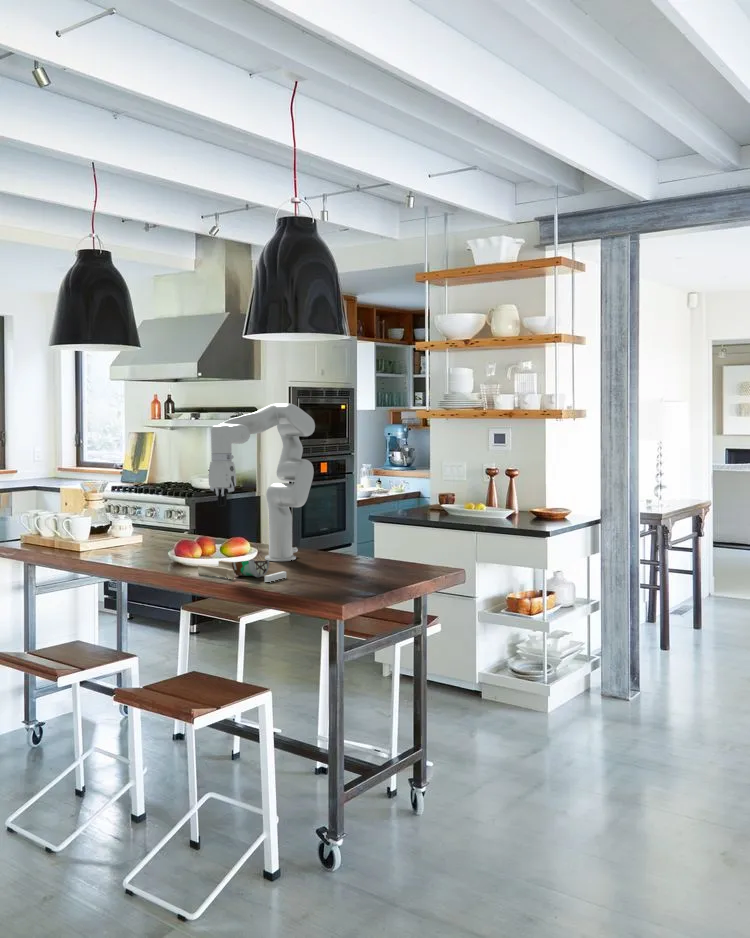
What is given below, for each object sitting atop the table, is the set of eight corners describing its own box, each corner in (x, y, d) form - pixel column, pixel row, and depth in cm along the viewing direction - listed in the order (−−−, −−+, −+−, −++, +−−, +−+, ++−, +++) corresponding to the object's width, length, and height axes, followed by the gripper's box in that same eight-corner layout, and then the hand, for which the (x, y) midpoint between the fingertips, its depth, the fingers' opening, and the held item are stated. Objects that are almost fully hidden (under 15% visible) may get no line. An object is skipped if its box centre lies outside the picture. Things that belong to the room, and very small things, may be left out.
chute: (224, 568, 352) (224, 559, 351) (260, 573, 343) (260, 564, 343) (194, 575, 337) (194, 566, 337) (231, 580, 328) (231, 570, 328)
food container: (230, 579, 331) (254, 577, 327) (229, 562, 332) (253, 560, 328) (247, 578, 342) (270, 577, 339) (246, 562, 343) (269, 560, 340)
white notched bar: (282, 577, 334) (282, 571, 334) (286, 578, 333) (286, 571, 333) (264, 582, 324) (264, 575, 324) (268, 583, 324) (268, 576, 324)
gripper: (243, 458, 342) (244, 506, 343) (212, 456, 349) (213, 504, 350) (231, 459, 335) (231, 508, 336) (199, 457, 342) (200, 506, 344)
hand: (222, 506), depth 343 cm, fingers closed
